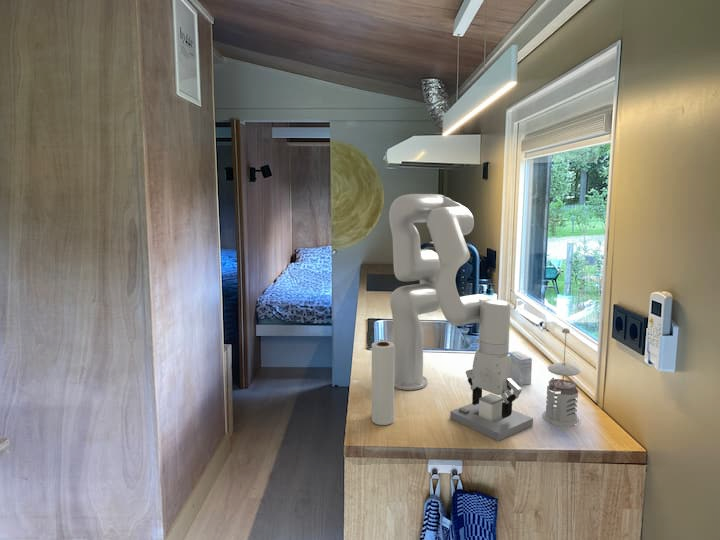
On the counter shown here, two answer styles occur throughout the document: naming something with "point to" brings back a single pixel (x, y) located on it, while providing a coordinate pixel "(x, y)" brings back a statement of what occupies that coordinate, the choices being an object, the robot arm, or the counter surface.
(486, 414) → the plug
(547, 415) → the french press
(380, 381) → the paper towel roll
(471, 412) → the socket plate
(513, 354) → the medicine box
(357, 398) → the counter surface
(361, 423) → the counter surface
